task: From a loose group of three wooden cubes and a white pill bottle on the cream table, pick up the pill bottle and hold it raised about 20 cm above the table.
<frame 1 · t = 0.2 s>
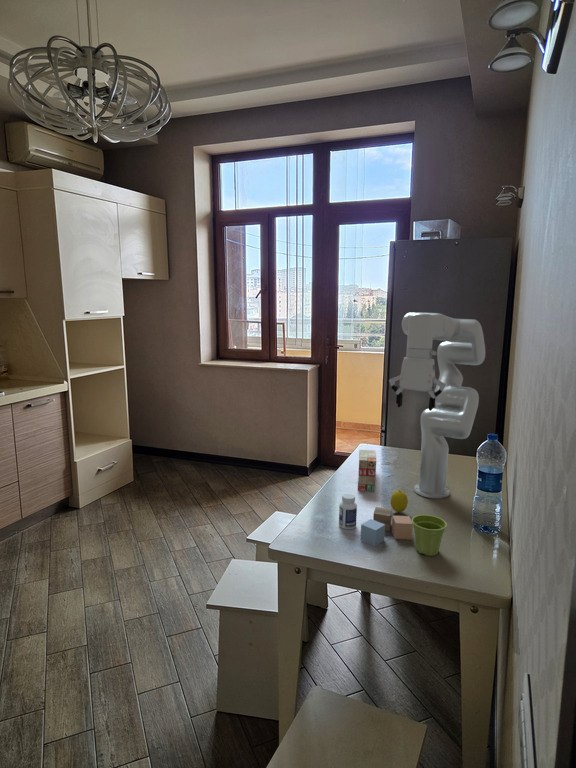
hand: (414, 408, 148), 36 cm above the table, tool pointing down, fingers open, 9 cm apart
terracotta cube: (401, 535, 142), on the table
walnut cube: (381, 526, 147), on the table
plant pot: (426, 551, 133), on the table
slate blue cube: (372, 540, 138), on the table
pill bottle: (347, 526, 147), on the table
stack of blocks: (366, 481, 184), on the table
lemon: (398, 513, 156), on the table
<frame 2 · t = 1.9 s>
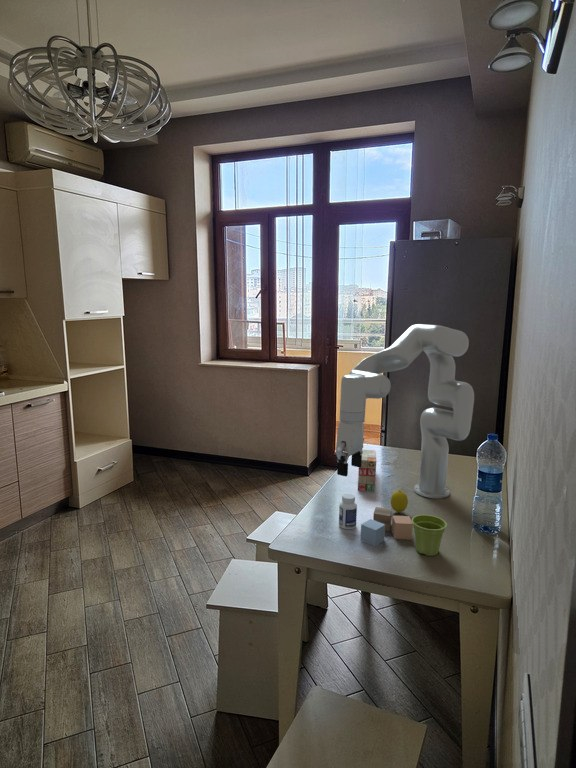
hand: (349, 470, 144), 18 cm above the table, tool pointing down, fingers open, 9 cm apart
nothing on the table moved.
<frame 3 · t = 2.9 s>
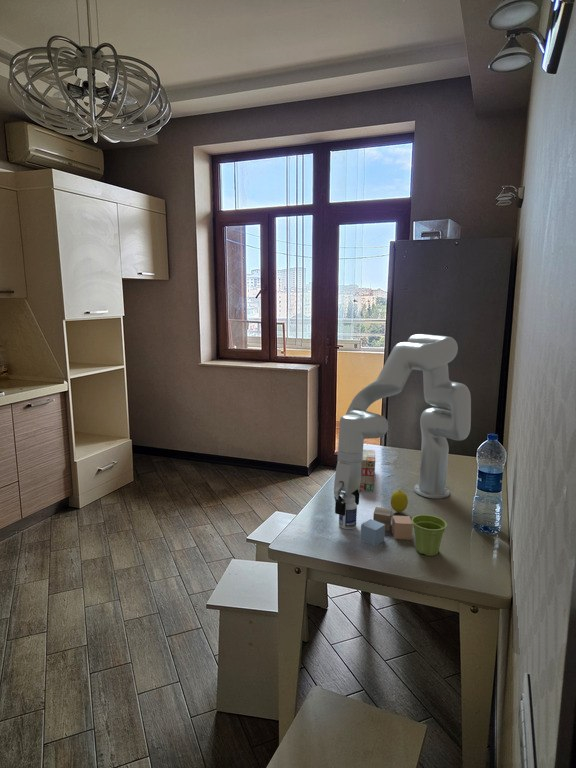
hand: (347, 508, 146), 6 cm above the table, tool pointing down, fingers open, 9 cm apart
nothing on the table moved.
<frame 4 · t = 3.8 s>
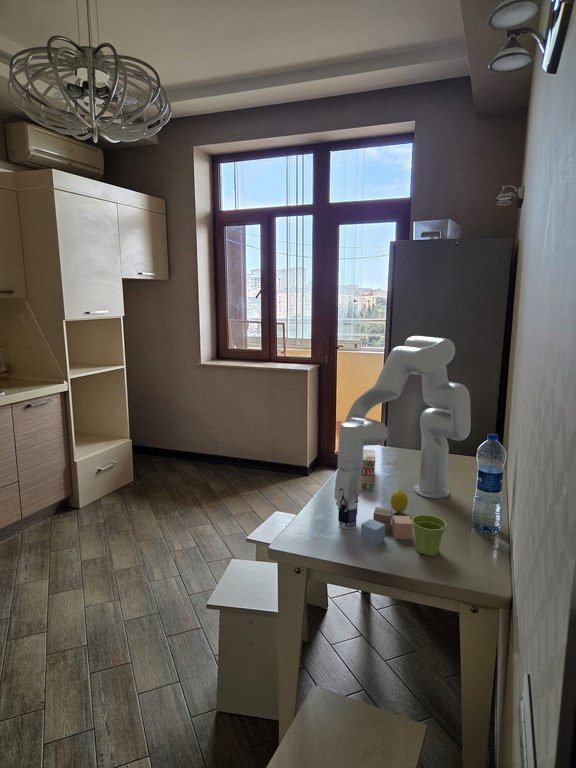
hand: (347, 517, 146), 3 cm above the table, tool pointing down, fingers closed on pill bottle, 5 cm apart
pill bottle: (347, 526, 147), on the table, touching gripper
everything else where it was.
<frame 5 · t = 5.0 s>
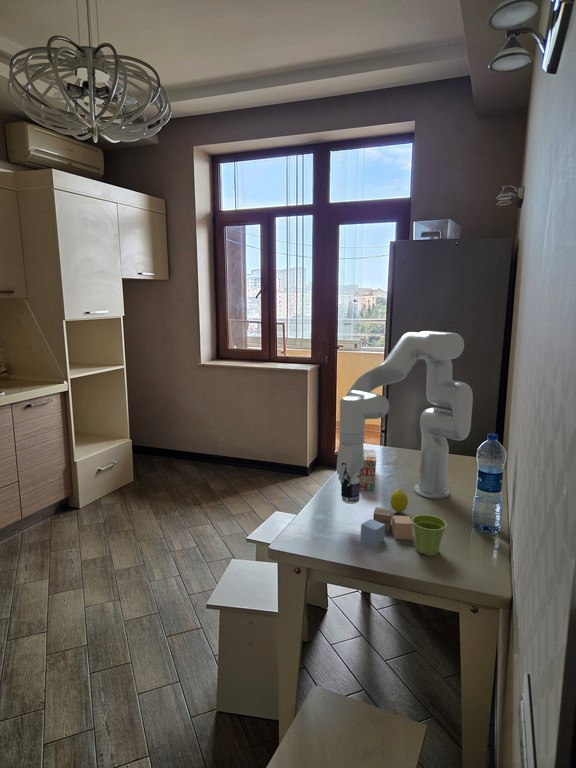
hand: (350, 492, 145), 11 cm above the table, tool pointing down, fingers closed on pill bottle, 5 cm apart
pill bottle: (350, 501, 146), point 8 cm above the table, touching gripper
everything else where it was.
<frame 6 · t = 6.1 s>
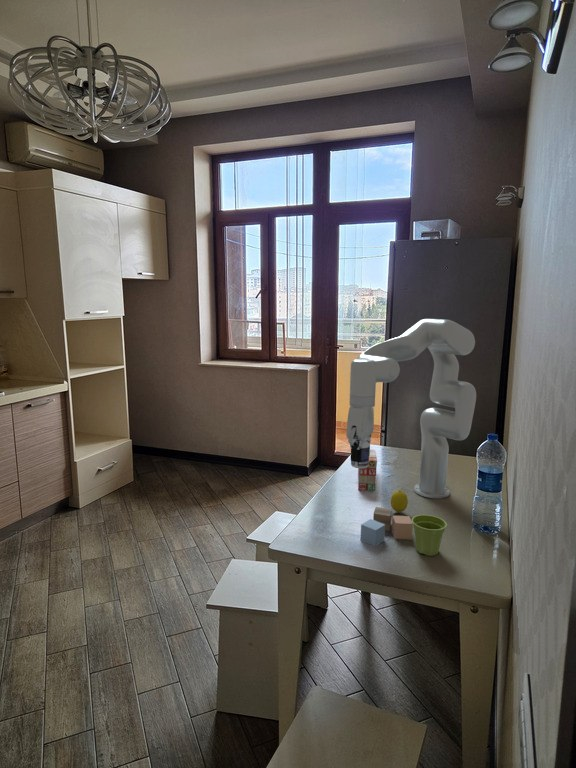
hand: (360, 457, 144), 22 cm above the table, tool pointing down, fingers closed on pill bottle, 5 cm apart
pill bottle: (359, 466, 144), point 19 cm above the table, touching gripper
everything else where it was.
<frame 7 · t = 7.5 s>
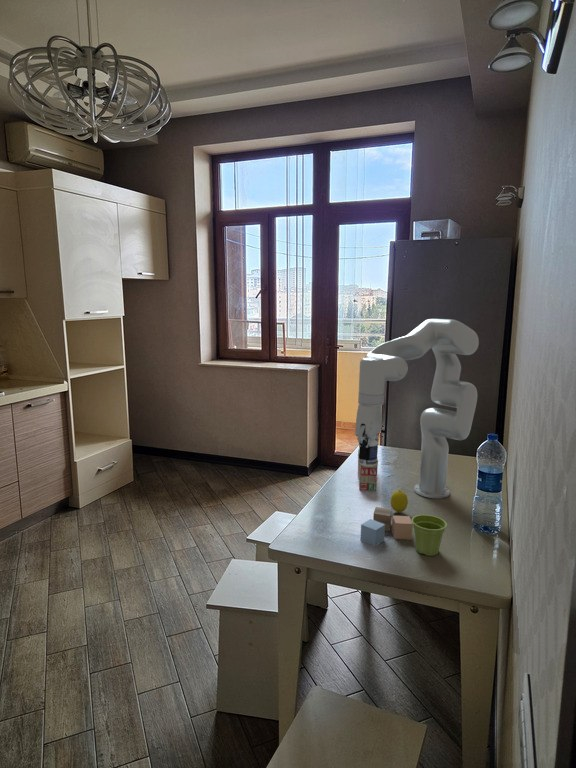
hand: (368, 456, 144), 22 cm above the table, tool pointing down, fingers closed on pill bottle, 5 cm apart
pill bottle: (367, 464, 145), point 20 cm above the table, touching gripper
everything else where it was.
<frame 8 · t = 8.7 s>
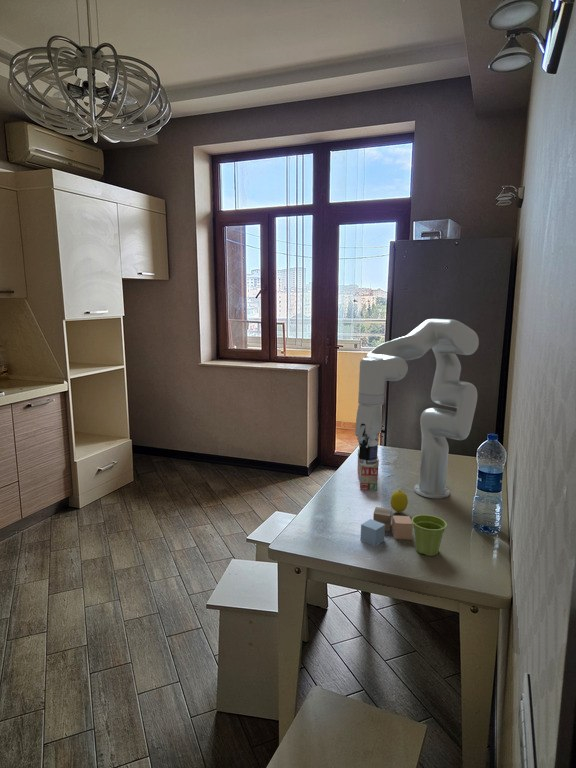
hand: (368, 456, 144), 22 cm above the table, tool pointing down, fingers closed on pill bottle, 5 cm apart
pill bottle: (367, 464, 145), point 20 cm above the table, touching gripper
at the end: the gripper is holding pill bottle; pill bottle point 19.5 cm above the table; slate blue cube moved 0.1 cm from its start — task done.
